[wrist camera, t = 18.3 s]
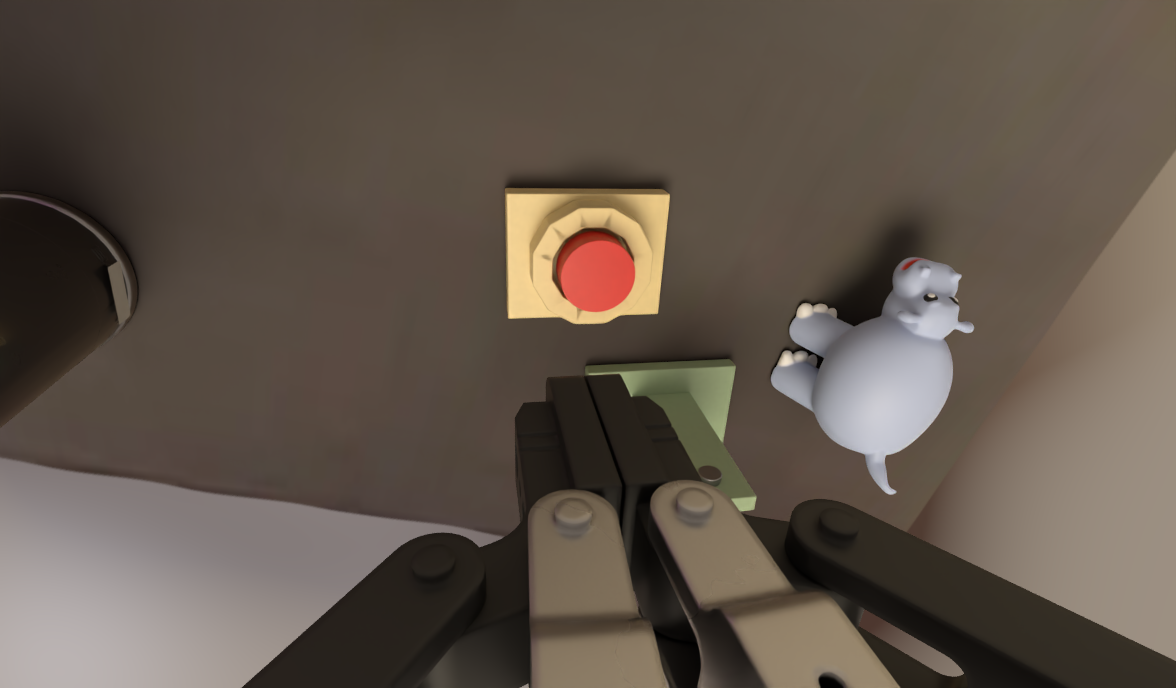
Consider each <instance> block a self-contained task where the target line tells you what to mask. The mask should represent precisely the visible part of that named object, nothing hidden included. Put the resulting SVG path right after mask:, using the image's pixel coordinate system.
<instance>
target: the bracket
mask: <svg viewBox="0 0 1176 688" xmlns="http://www.w3.org/2000/svg"><path fill="white" fill-rule="evenodd" d="M735 368H736V366H735V365H734V363H733V362H732V361H731V360H730V359H720V360H698V361H676V362H655V363H633V364H612V365H590V366H586V367H585V375H603V374H620V375H621V376H622V378H623V380H624V382H625V385H626V387H627V389H628V391H629V393H630V395H631V397H634V396H647V397H649V398H650V399H651V400H652V401H654V402H655V403H656V404H658V405H659V406H660V407H662V408H663V409H664V411H665V413H666V415H667V417H668V418H669V420H670V422H671V424H672V427H673V428H674V430H675V431H676V433H677V435H678V439H679V440H680V441H681V443H682V444H683V446H684V448H685V450H686V452H687V454H688V455H689V457H690V459H691V461H692V463H693V465H694V467H695V468H696V470H697V472H698V474H699V476H700V478H701V480H702V481H703V483H706V484H709V485H712V486H714V487H716V488H718V489H720V490H721V491H722V492H724V493H725V494H726V495H727V496H729V497H730V499H731V500H732V501H733V502H734V504H735V505H736V506H737V508H738V509H739V511H746V510H754V506H755V502H756V495H755V493H754V492H753V490H752V489H751V487H750V486H749V484H748V482H747V481H746V479H745V478H744V476H743V475H742V473H741V472H740V470H739V468H738V467H737V465H736V464H735V462H734V461H733V459H732V457H731V456H730V454H729V453H728V451H727V450H726V448H725V447H724V445H723V438H724V433H725V427H726V421H727V415H728V409H729V403H730V398H731V392H732V386H733V380H734V374H735Z"/></svg>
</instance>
